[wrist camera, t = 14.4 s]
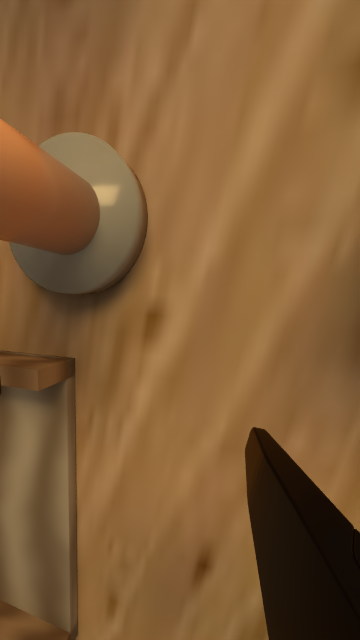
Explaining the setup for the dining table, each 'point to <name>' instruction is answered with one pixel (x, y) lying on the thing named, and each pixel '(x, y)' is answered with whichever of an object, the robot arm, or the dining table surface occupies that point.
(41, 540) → the cold frame
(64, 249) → the tan tapered cylinder
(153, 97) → the dining table surface
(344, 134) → the dining table surface
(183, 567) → the dining table surface
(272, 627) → the robot arm
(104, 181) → the grey plate
